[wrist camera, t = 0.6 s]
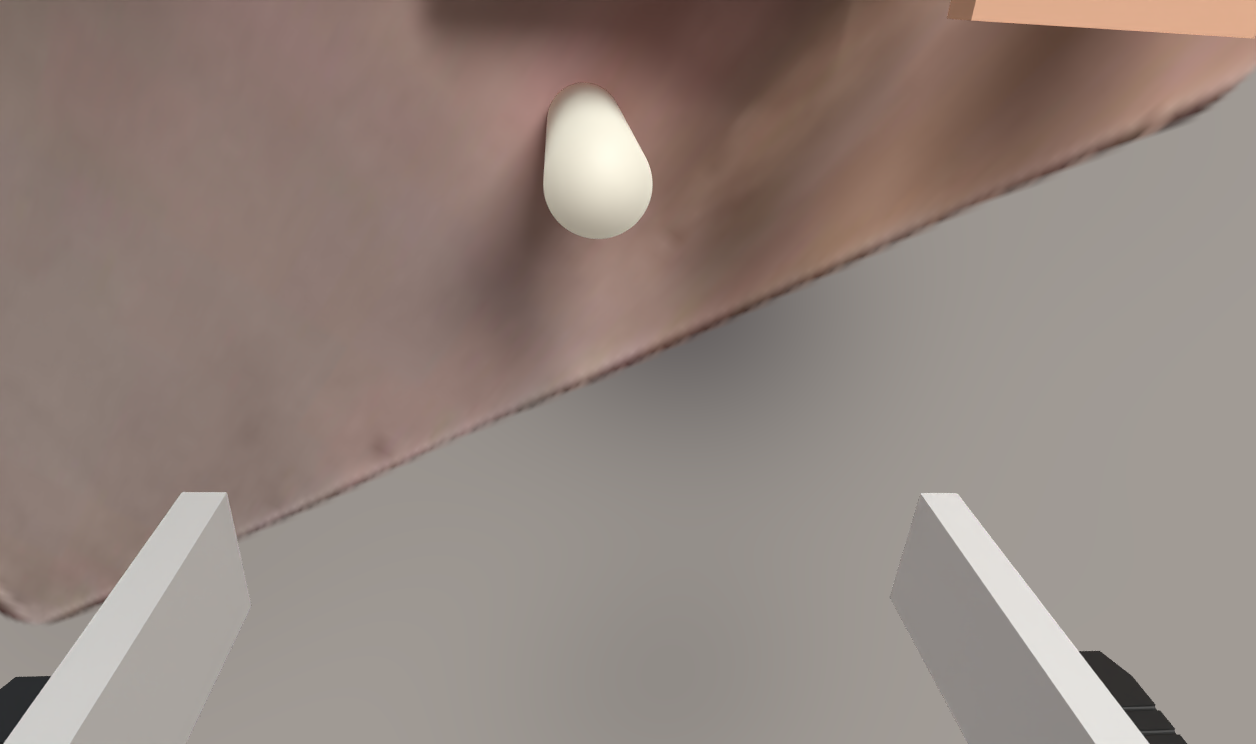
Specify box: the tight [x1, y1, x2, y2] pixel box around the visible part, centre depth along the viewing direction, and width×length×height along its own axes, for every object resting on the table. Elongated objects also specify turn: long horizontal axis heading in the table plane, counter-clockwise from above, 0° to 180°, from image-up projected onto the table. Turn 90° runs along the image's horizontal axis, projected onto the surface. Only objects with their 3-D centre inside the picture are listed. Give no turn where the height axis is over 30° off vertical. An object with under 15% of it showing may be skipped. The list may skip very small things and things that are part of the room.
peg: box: [543, 83, 652, 239], centre depth 28 cm, size 3×3×12 cm
